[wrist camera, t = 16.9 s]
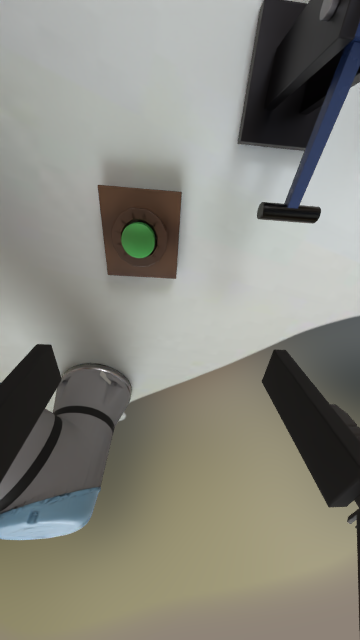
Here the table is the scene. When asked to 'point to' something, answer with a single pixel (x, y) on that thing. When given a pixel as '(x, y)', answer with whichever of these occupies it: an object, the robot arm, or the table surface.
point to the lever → (317, 142)
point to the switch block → (147, 208)
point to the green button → (138, 240)
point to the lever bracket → (294, 68)
